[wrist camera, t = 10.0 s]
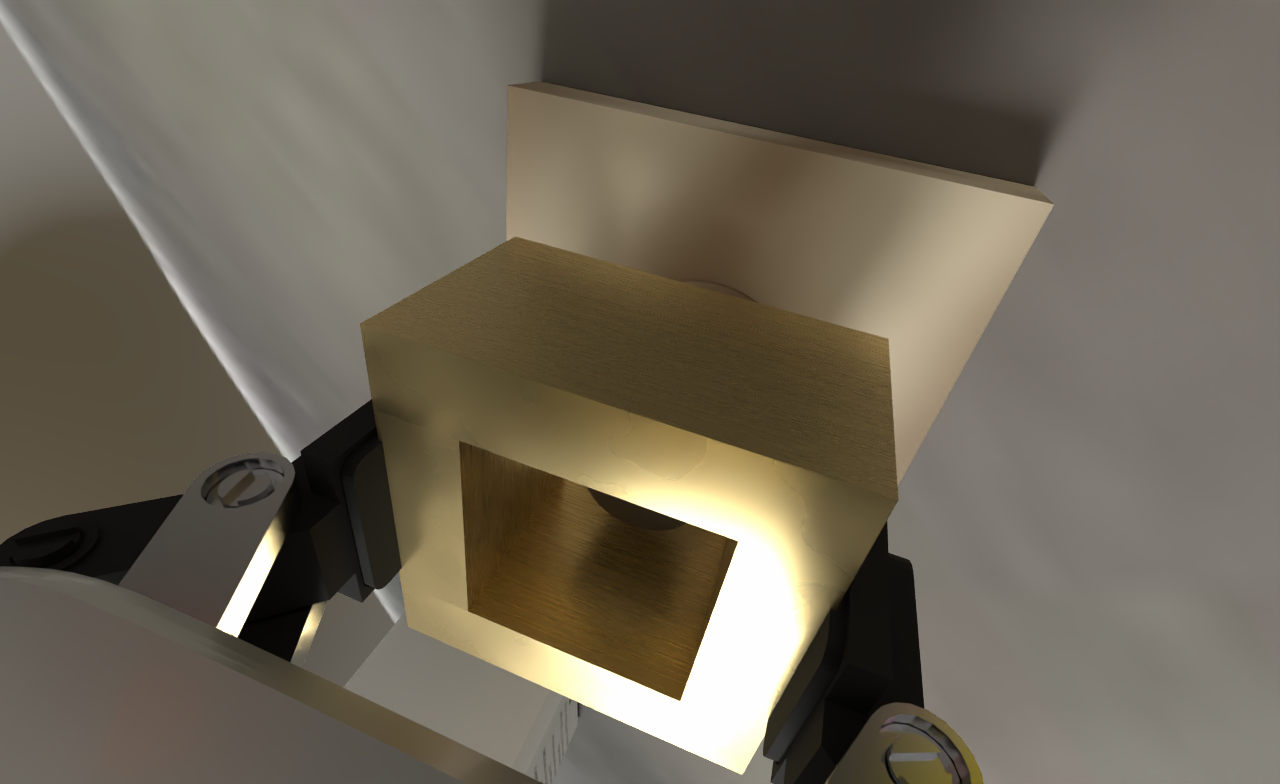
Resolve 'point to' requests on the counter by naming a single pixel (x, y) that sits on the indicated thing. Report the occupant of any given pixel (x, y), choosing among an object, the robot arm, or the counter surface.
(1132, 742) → the counter surface
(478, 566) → the collar
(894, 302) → the post stand
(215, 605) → the robot arm
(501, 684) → the container
